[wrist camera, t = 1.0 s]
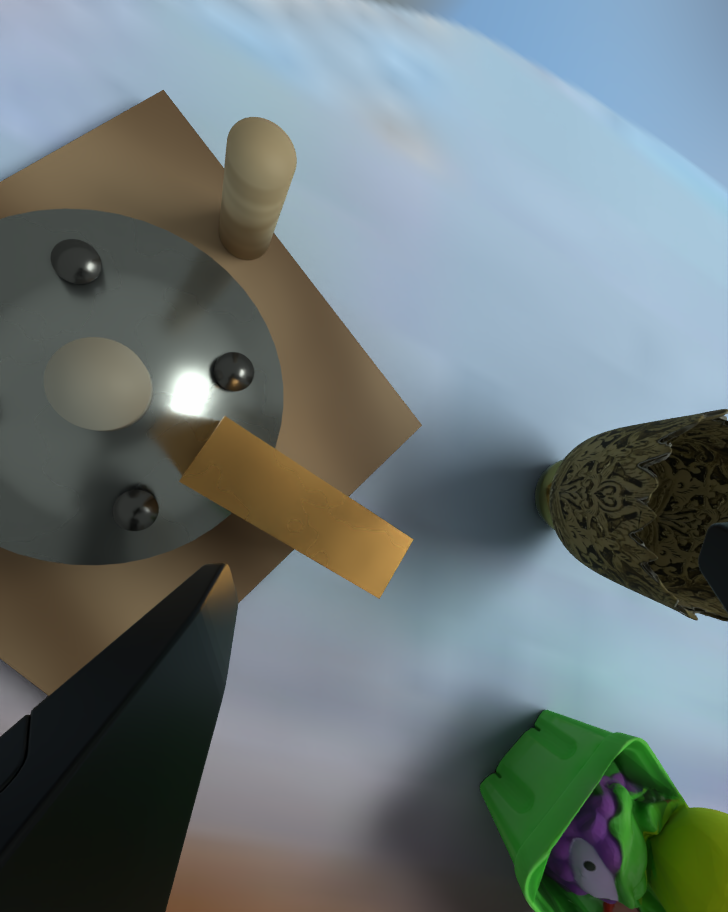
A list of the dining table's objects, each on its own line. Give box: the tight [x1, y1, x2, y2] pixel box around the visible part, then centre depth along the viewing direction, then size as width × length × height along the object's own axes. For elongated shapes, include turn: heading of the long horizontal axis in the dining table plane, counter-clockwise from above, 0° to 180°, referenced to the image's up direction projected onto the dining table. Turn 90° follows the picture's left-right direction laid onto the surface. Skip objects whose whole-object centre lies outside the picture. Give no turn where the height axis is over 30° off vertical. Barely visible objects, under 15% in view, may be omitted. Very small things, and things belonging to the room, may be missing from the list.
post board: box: [0, 90, 422, 696], centre depth 14 cm, size 16×15×5 cm
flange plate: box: [0, 209, 413, 599], centre depth 13 cm, size 14×10×3 cm
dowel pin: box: [219, 117, 297, 260], centre depth 14 cm, size 2×2×5 cm
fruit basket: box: [480, 710, 728, 912], centre depth 18 cm, size 11×9×11 cm
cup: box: [535, 409, 728, 621], centre depth 19 cm, size 8×7×8 cm
